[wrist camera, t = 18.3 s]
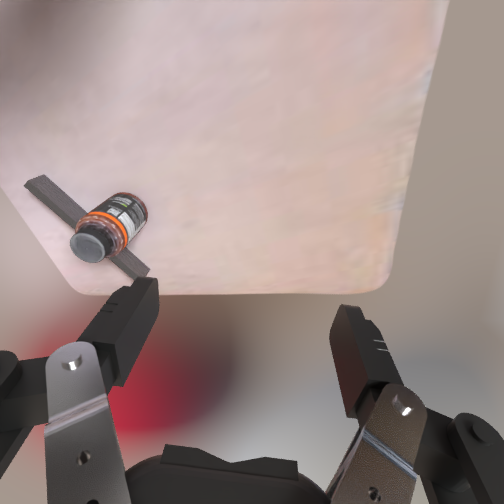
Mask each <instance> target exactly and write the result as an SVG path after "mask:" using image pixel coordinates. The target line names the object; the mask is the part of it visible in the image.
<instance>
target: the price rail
mask: <svg viewBox="0 0 504 504" xmlns="http://www.w3.org/2000/svg"><path fill="white" fill-rule="evenodd" d="M24 187H25V188H27V189H28V190H29V191H30V192H31V193H33V194H34V195H35V196H36V197H37V198H38V199H40V200H41V201H42V202H43V203H44V204H45V205H47V206H48V207H49V208H50V209H51V210H53V211H54V212H55V213H56V214H57V215H58V216H60V217H61V218H62V219H63V220H64V221H65V222H67V223H68V224H69V225H70V226H71V227H72V228H74V229H75V228H76V225H77V223H78V221H79V220H80V219H81V218H82V217H83V216H85V215H86V214H88V213H87V212H86V211H84V210H83V209H82V208H81V207H80V206H79V205H78V204H77V203H76V202H74V201H73V200H72V199H71V198H70V197H69V196H68V195H67V194H65V193H64V192H63V191H62V190H61V189H60V188H59V187H58V186H57V185H55V184H54V183H53V182H52V181H51V180H50V179H49V178H48V177H46V176H45V175H41V176H39V177H36V178H33V179H31V180H28V181H27V182H26V184H25V185H24ZM109 259H110V260H111V261H112V262H114V263H115V264H116V265H117V266H118V267H119V268H121V269H122V270H123V271H124V272H125V273H126V274H128V275H129V276H130V277H131V278H132V279H134V280H135V279H136V278H137V277H138V276H144V277H145V276H146V275H147V273H148V272H149V270H150V269H149V268H148V267H147V266H146V265H145V264H144V263H142V262H141V261H140V260H139V259H138V258H137V257H136V256H135V255H134V254H132V253H131V252H130V251H129V250H128V249H127V248H126V247H125V248H124V249H123V250H122V251H121V252H120V253H119V254H117V255H115V256H113V257H109Z"/></svg>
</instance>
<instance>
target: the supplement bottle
mask: <svg viewBox="0 0 504 504" xmlns="http://www.w3.org/2000/svg"><path fill="white" fill-rule="evenodd" d="M147 218H148V213H147V209H146V207H145V205H144V203H143V202H142V201H141V200H140V199H139V198H138V197H136V196H134V195H132V194H130V193H123V192H122V193H117V194H115V195H113V196H112V197H110V198H108V199H107V200H106V201H104V202H103V203H102V204H100V205H99V206H97V207H96V208H95V209H93V210H92V211H90V212H89V213H88V214H86V215H85V216H83V217H82V218H81V219H80V220H79V221H78V223H77V225H76V228H75V235H73V236H72V238H71V240H70V247H71V249H72V251H73V253H74V254H75V255H76V256H77V257H78V258H80V259H81V260H83V261H86V262H90V263H96V262H99V261H101V260H102V259H103V258H109V257H113V256H115V255H117V254H119V253H120V252H121V251H122V250H123V249H124V248H125V247H126V245H127V244H128V243H129V242H130V241H131V240H132V239H133V237H134V236H135V235H136V234H137V233H138V232H140V229H141V228H142V227H143V226H144V225H145V223H146V221H147Z"/></svg>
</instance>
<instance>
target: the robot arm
mask: <svg viewBox="0 0 504 504" xmlns="http://www.w3.org/2000/svg"><path fill="white" fill-rule="evenodd" d="M158 312H159V291H158V280H157V278H151V277H144V276H138V277H137V278H136V279H135V281H134V282H133V284H132V285H131V286H130V287H129V286H123V287H121V288H120V289H118V290H117V291H115V292H114V293H113V294H112V295H111V296H110V298H109V299H108V300H107V302H106V304H104V305H103V307H102V308H101V310H100V312H98V313H97V315H96V316H95V318H94V319H93V320H92V321H91V323H90V324H89V325H88V327H87V328H86V329H85V330H84V332H83V333H82V334H81V336H80V337H79V338H78V340H77V341H76V342H73V343H69V344H66V345H64V346H62V347H60V348H59V349H58V350H56V351H55V352H54V353H53V354H51V356H48V357H43V358H35V359H28V360H21V361H19V360H18V358H17V356H16V355H15V354H14V353H12V352H10V351H0V479H1V477H2V476H3V474H4V473H5V471H6V469H7V468H8V466H9V465H10V463H11V462H12V460H13V458H14V457H15V455H16V454H17V452H18V450H19V449H20V447H21V446H22V444H23V443H24V441H25V439H26V438H27V436H28V435H29V433H30V431H31V430H32V428H33V427H34V426H35V425H40V424H44V423H48V424H46V425H45V430H44V432H45V433H44V437H45V438H44V439H45V457H46V458H45V459H46V479H47V500H48V504H410V503H411V500H412V496H413V492H414V488H415V484H416V479H417V474H418V475H420V478H421V481H422V483H423V486H424V490H425V493H426V496H427V499H428V501H429V504H504V440H503V438H502V437H501V436H500V435H499V433H498V432H497V431H496V430H495V429H494V428H493V427H492V426H491V425H490V424H489V423H487V422H486V421H484V420H483V419H481V418H480V417H478V416H476V415H473V414H469V413H460V414H458V415H457V416H456V417H455V418H454V419H452V418H449V417H447V416H445V415H442V414H440V413H438V412H435V411H433V410H431V409H429V408H426V407H425V405H424V403H423V402H422V400H421V399H420V397H419V396H418V395H417V394H416V393H414V392H413V391H412V390H411V389H409V388H407V387H405V386H404V384H403V382H402V380H401V377H400V375H399V373H398V371H397V369H396V366H395V364H394V362H393V359H392V357H391V355H390V353H389V352H388V349H387V346H386V344H385V343H384V339H383V337H382V335H381V332H380V331H379V329H378V328H377V327H376V326H375V325H374V323H373V322H372V321H371V320H365V318H364V315H363V313H362V310H361V308H360V307H357V306H351V305H343V304H342V305H340V307H339V309H338V311H337V314H336V317H335V319H334V321H333V324H332V327H331V329H330V336H329V340H330V345H331V350H332V355H333V359H334V363H335V368H336V372H337V377H338V381H339V385H340V390H341V394H342V398H343V403H344V407H345V412H346V416H347V417H348V418H356V419H358V423H359V428H358V429H357V431H356V433H355V436H354V437H353V439H352V441H351V443H350V445H349V447H348V450H347V451H346V453H345V455H344V457H343V460H342V462H341V463H340V465H339V468H338V469H337V472H336V473H335V475H334V477H333V479H332V480H331V482H330V484H329V486H328V488H327V490H326V491H325V492H324V491H323V490H322V489H321V488H320V487H319V486H318V485H317V484H315V483H314V482H313V481H312V480H310V479H309V478H307V477H306V476H304V475H303V474H301V473H299V472H298V467H297V461H292V460H285V459H277V458H269V457H263V458H257V459H251V460H246V461H241V462H234V463H230V462H227V461H224V460H222V459H220V458H217V457H216V456H214V455H211V454H209V453H207V452H205V451H203V450H200V449H198V448H192V447H184V446H176V445H168V444H165V447H164V450H163V454H162V455H157V456H154V457H151V458H148V459H146V460H143V461H141V462H139V463H137V464H136V465H134V466H132V467H131V468H129V469H128V470H127V471H125V467H124V463H123V459H122V455H121V451H120V447H119V443H118V439H117V434H116V430H115V426H114V422H113V418H112V413H111V409H110V405H109V401H108V397H107V396H108V394H109V392H110V390H111V388H112V386H120V387H123V386H124V383H125V382H126V380H127V377H128V375H129V373H130V372H131V369H132V367H133V365H134V363H135V361H136V359H137V357H138V355H139V353H140V351H141V349H142V347H143V345H144V343H145V341H146V339H147V337H148V335H149V333H150V331H151V329H152V327H153V325H154V323H155V321H156V319H157V316H158Z"/></svg>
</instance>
